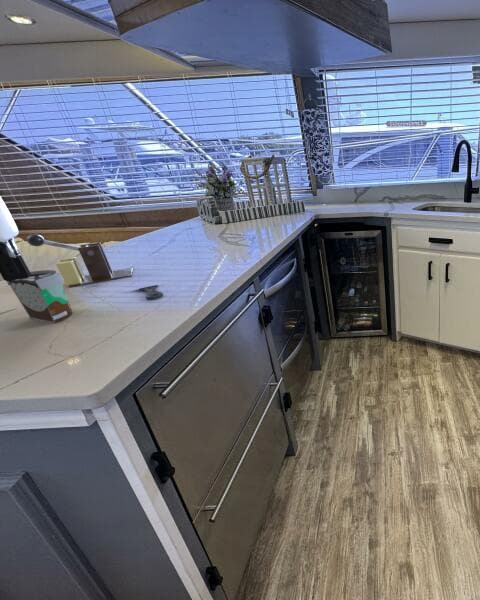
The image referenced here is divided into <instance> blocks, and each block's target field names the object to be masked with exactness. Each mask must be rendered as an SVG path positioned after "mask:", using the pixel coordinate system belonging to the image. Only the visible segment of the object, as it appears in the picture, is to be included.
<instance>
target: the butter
mask: <svg viewBox="0 0 480 600" xmlns="http://www.w3.org/2000/svg"><path fill="white" fill-rule="evenodd" d="M55 265H56V267H57V270H58V271H59V272H58V273H59V274H60V275H61V276H62V277H63V279H64V281H63V283H64V284H65V286H66V287H68V286H69V285H74V284H80V283H81V282H82V279H84V277H85V276H86V275H85V273H84V271H83V269H82V267H81V265H80V263H79V260H78V258H77V256H70V257H63V258H60V260H59V261H58V262H57V263H56V264H55Z"/></svg>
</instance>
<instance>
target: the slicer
mask: <svg viewBox="0 0 480 600" xmlns="http://www.w3.org/2000/svg"><path fill="white" fill-rule="evenodd" d="M78 250H79V251H78V252H79V254H80V256H81V258H82V261H83V263H84V265H85V267H86V269H87V272H88V274H87V275H84V276H85V277H84V279H82V282H81V283H80V284H74V285H68V286H67V287H68V289H71V288H75V287H81V286H82V287H83V286H87V285H88V286H89V285H93V284H98V283H104V282H110V281H115V280H120V279H121V280H122V279H125V278H131V277H133V273H134V268H133V267H129V268H123V269H117V270H113V269H112V267H111V265H110V262H109V260H108V257H107V255H106V253H105V250H104V247H103V246H102V243H101V242H94V243H85V244H80V246H78Z"/></svg>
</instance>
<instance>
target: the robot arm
mask: <svg viewBox="0 0 480 600" xmlns="http://www.w3.org/2000/svg"><path fill="white" fill-rule="evenodd" d="M19 234H20V231H19V228H18V226H17V224H16V222H15V220H14V218H13V215H12V213H11V212H10V210H9V209H8V206H7V205H6V203H5V201H4V199H3V198H2V196H1V195H0V275H1V277H2V279H3V281H4V282H5V281H6V282H7V281H11V280H17V279H23V278H28V277H29V276H30V275H31V273H30V272H31V271H30V269H29V267H28V265H27V263H26V261H25V260H24V258H23V256H22V254H21V253H20V250H19V248H18V246H17V244H16V242H15V239H14V238H15V237H17V236H18V235H19Z"/></svg>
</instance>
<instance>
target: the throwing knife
mask: <svg viewBox="0 0 480 600" xmlns="http://www.w3.org/2000/svg"><path fill="white" fill-rule="evenodd" d="M158 287H159V285H158V284H155V285H150V286H144V287H140V288H138V291H141V292H145V293H146V296H145V298H146V300H156V299H159V298H162V297H163V296H164V293H163V292H162V291H158V290H157V288H158Z"/></svg>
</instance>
